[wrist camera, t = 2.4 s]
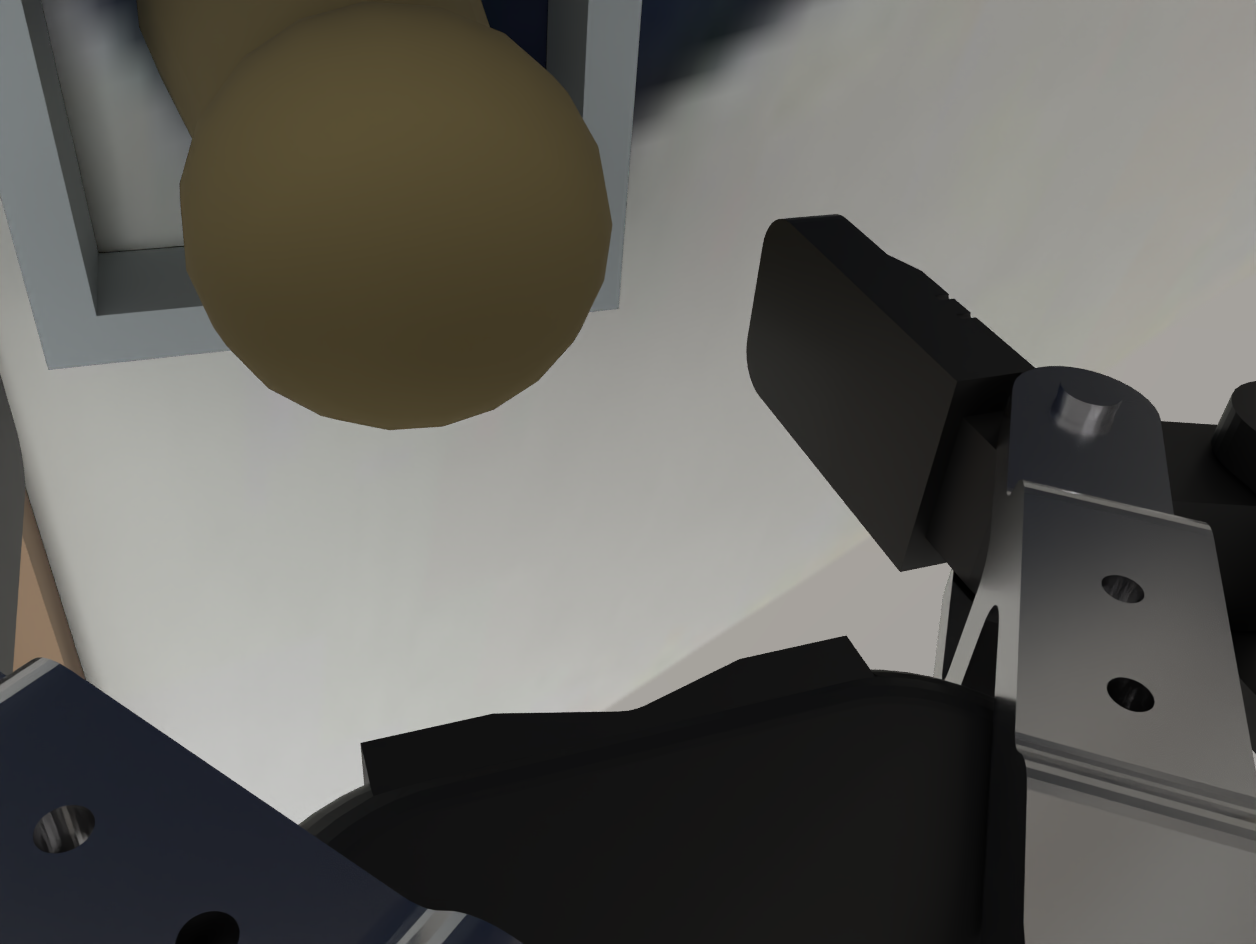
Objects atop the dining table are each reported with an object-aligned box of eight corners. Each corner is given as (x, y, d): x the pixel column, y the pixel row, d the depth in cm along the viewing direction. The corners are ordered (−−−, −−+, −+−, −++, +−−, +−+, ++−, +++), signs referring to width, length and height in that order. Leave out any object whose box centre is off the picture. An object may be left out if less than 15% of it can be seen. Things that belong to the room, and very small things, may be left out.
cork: (438, 188, 24) (600, 512, 16) (122, 137, 21) (123, 496, 13) (505, -123, 21) (751, 83, 13) (145, -226, 18) (166, -50, 10)
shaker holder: (614, -335, 19) (666, -323, 18) (583, 255, 26) (618, 308, 24) (-127, -388, 16) (-159, -380, 14) (54, 303, 23) (48, 369, 21)
